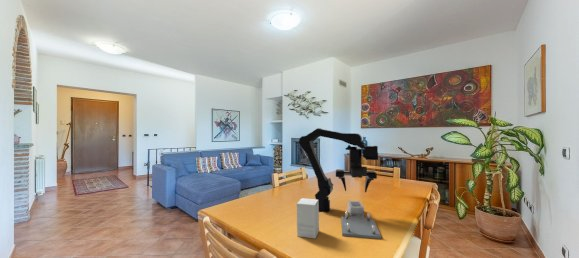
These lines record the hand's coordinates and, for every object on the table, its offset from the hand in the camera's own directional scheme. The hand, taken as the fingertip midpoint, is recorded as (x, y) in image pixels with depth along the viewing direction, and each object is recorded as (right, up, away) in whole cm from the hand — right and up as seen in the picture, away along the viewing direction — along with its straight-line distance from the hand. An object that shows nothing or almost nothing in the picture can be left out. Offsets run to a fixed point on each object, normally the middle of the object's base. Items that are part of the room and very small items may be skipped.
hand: (355, 191), depth 108 cm
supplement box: (-25, -11, -21) cm, 34 cm away
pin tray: (-3, -11, -16) cm, 19 cm away
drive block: (0, -11, 0) cm, 11 cm away
